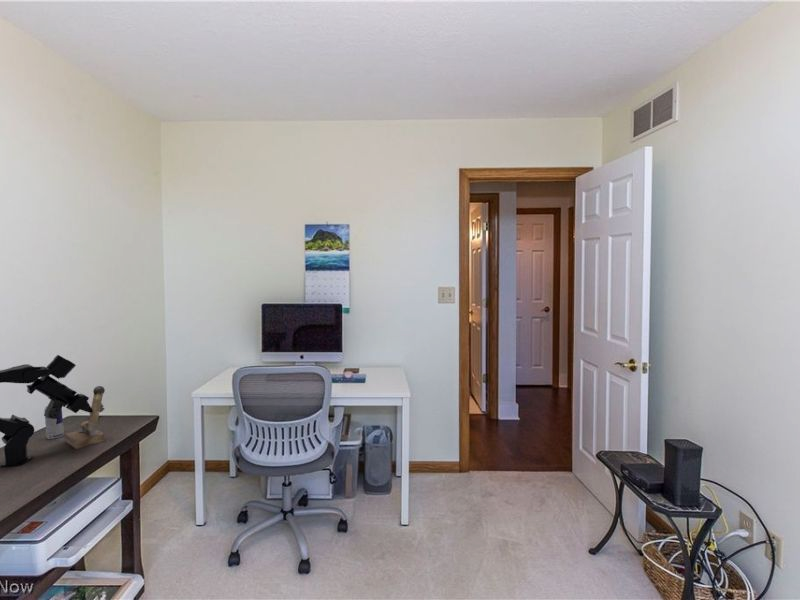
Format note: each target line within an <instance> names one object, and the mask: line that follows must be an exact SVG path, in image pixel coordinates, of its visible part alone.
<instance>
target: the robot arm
mask: <svg viewBox="0 0 800 600" xmlns="http://www.w3.org/2000/svg"><path fill="white" fill-rule="evenodd" d="M76 366H77V365H76V363H74V362H72V361H71V360H69V359H66V358H65V357H63V356H61V355H59V354H57V355H55V357H54V358H53V360H52V361H50V363H48V365H46V366H33V365H31V364H21V365H16V366H15V365H14V366H12V367H8V368H6V369H1V370H0V383H9V384H10V383H11V384H27V385H26V388H27V390H26V392H27V393H28V394H30V395H32V394H34V392H35V391H37V392H38V393H40V394H42V395H44V396H45V397H47V398H48V399H49V400H50V401H49V403H47V404H48V405H47V406H46V407H47V409H46V411H45V412H44V414H43V416H44V418H45V417H47V418H52V419H58V417H59V413H60V411H61V409H62V408H63V407H64V408H66V409H67V410H69V411H71V412H72V413H75V414H77V413H78V412H79V411H80V410H81V411H83V412H86V413H89V414H90V413H91V412H92V411H93V410H92V408H91V405H90V403H89V402H88V401H89V399H90V397H89V396H86V395H85V394H83V393H78V392H77V391H76V390H73V388H70V387H68V386H67V385H65V384H63V383H62V382H60V381H58V380H60V379H64V378H66V377H67V376H68V374H69V373H71V372H72V370H74V368H75V367H76ZM50 375H51V376H50ZM53 377H54V378H53ZM55 378H56V379H55ZM57 379H58V380H57ZM62 410H63V409H62ZM0 433H1V434H3V436H2V437H1V438H0V439H1V441H2V443H4V444H5V445H4V447H3V449H4V450H3V451H4V460H5V461H4V462H3V463H2V464H0V466H3V467H12V466H21V465H23V464H26V463H27V462H28V461H30V460H31V459H32V458H34V456H33V455H28V454H29V453H28V452H29V451H28V442H29V440H30V438H31V437H32V436H33V435H34V433H35V427H34V425H32V424H31V423H30V421H29V419H27V418H26V417H19V416H17V415H15V414H11V416H10V418H7V417H6V418H5V417H0Z"/></svg>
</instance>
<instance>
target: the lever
mask: <svg viewBox="0 0 800 600" xmlns="http://www.w3.org/2000/svg"><path fill="white" fill-rule="evenodd" d="M92 391H93V397H92V402H91V405H90V407H91V408H92V410H93V411H92V412H91V413H89V415H88V416H89V421H88V426H87V431H89V425H93V424H97V425H98V421H99V419H98V417H99V415H100V413H101V412H100V407H101V403H102V402H103V397H104V393H105V391H106V389H105V388H104V386H101V385H98V386H95V387H94V388H93V390H92ZM99 418H100V417H99Z"/></svg>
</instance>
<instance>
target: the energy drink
mask: <svg viewBox="0 0 800 600" xmlns="http://www.w3.org/2000/svg"><path fill="white" fill-rule="evenodd" d="M46 409H47V406H45V407H44V410H43V411H44V413H45V411H46ZM44 420H45V434H46V439H48V440H54V439H55V438H56V439H60V438H62V437H64V436H65V432H64V421H63V409H61V411H60V413H59V417H58V419H52V418H47V417H45V416H44Z"/></svg>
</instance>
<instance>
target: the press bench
mask: <svg viewBox="0 0 800 600" xmlns="http://www.w3.org/2000/svg"><path fill="white" fill-rule="evenodd" d="M87 426H88V422H87V420H85V421H83V422H82V423H81V424H80V428H81V429H79V430H76V431H72V432H68V433H64V438H65V443H67V444H68V445H70V447H72V448H74V449H76V450H77V449H81V448H85V447H88V446H92V445H95V444H100V443H103V442H105V435H104V432H102V431H100V430H98V423H97V424H93V425H89V431H87Z"/></svg>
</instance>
